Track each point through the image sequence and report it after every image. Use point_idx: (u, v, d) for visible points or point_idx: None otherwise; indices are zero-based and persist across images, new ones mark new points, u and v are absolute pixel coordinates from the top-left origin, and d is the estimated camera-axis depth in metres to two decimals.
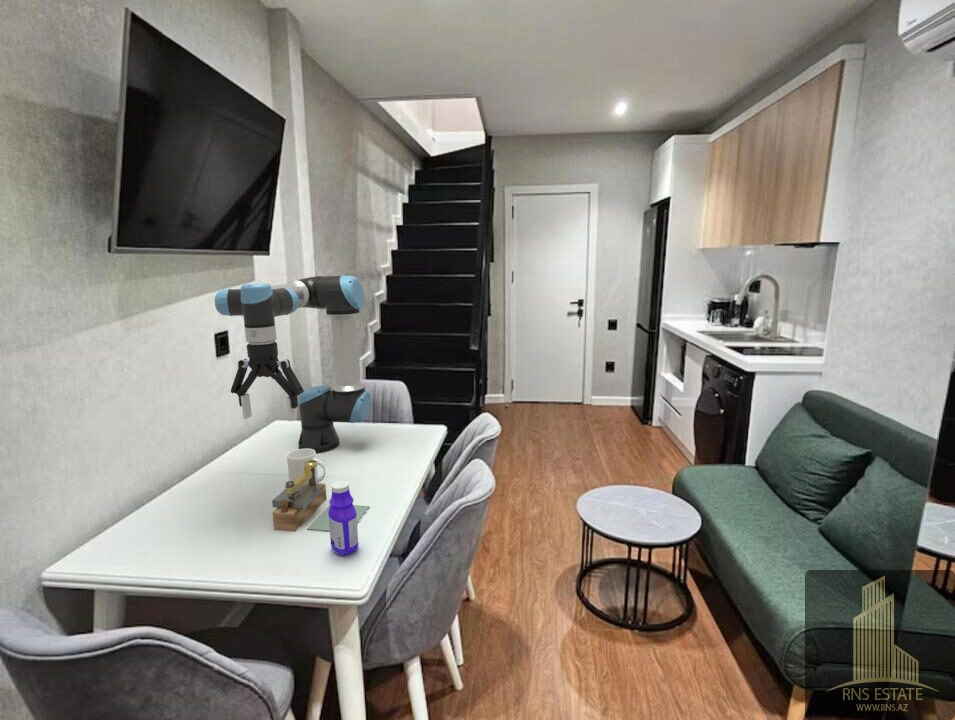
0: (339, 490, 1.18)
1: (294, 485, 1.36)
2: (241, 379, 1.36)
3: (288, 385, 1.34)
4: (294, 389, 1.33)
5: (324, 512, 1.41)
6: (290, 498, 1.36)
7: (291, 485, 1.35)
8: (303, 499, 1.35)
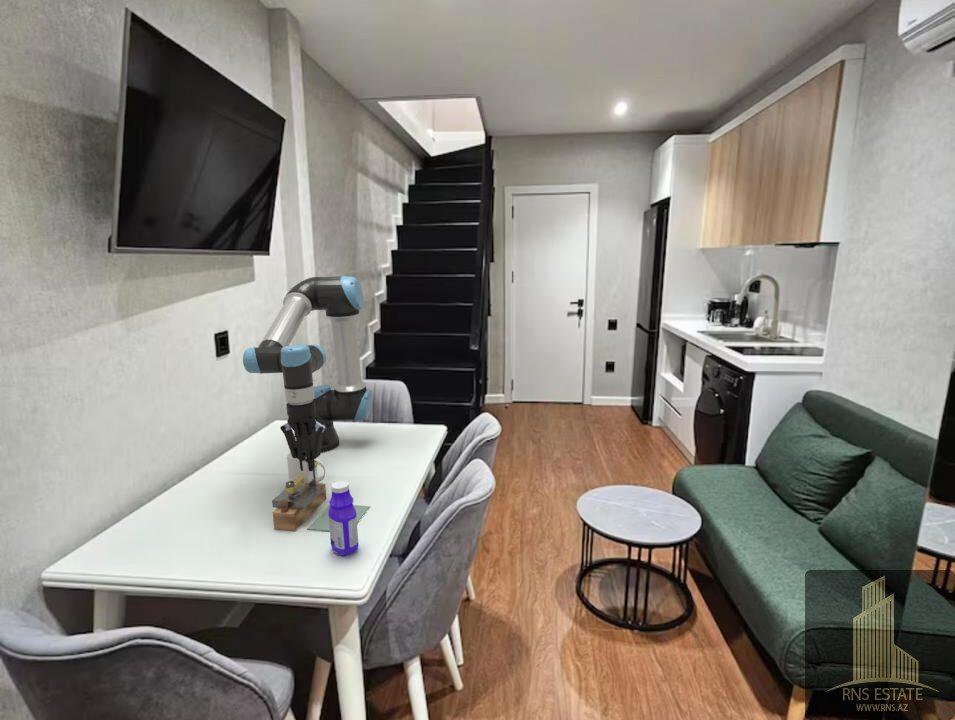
0: (339, 490, 1.18)
1: (294, 485, 1.36)
2: (294, 442, 1.41)
3: (311, 448, 1.40)
4: (314, 453, 1.39)
5: (324, 512, 1.41)
6: (290, 498, 1.36)
7: (291, 485, 1.35)
8: (303, 499, 1.35)
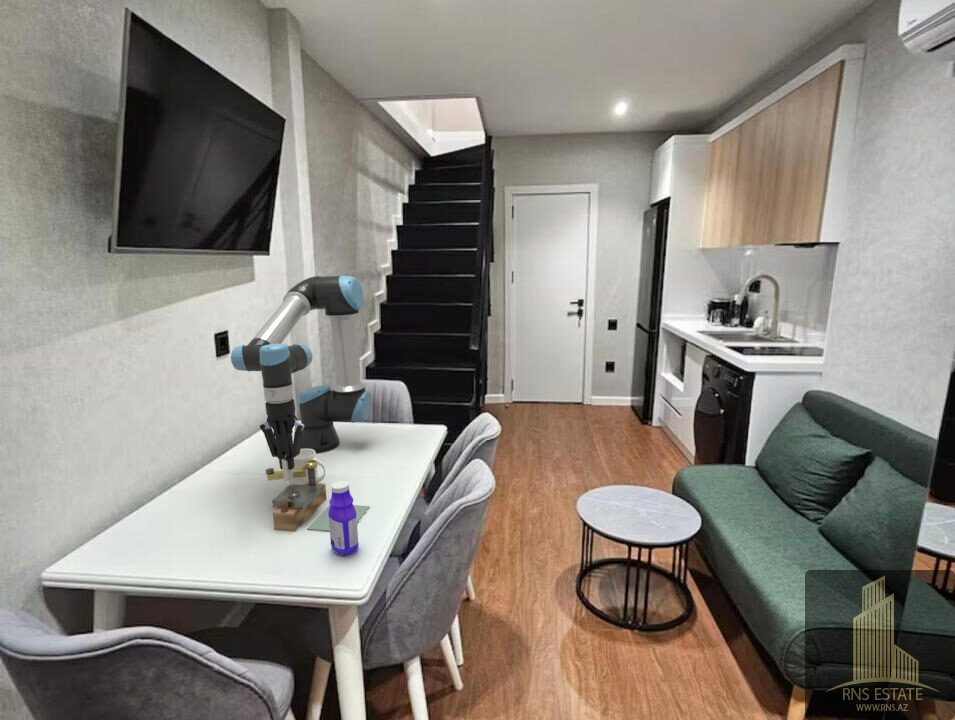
0: (339, 490, 1.18)
1: (270, 474, 1.43)
2: (273, 440, 1.41)
3: (291, 447, 1.41)
4: (293, 451, 1.40)
5: (324, 512, 1.41)
6: (290, 498, 1.36)
7: (266, 472, 1.43)
8: (303, 499, 1.35)
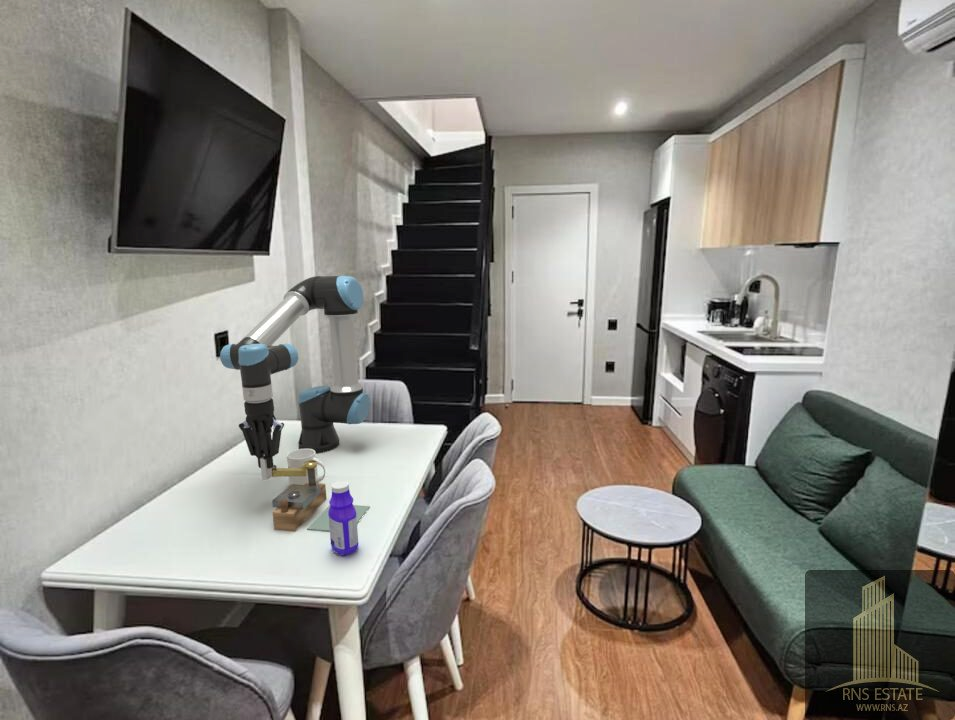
0: (339, 490, 1.18)
1: (272, 471, 1.46)
2: (252, 439, 1.43)
3: (269, 446, 1.42)
4: (272, 450, 1.41)
5: (324, 512, 1.41)
6: (290, 498, 1.36)
7: None
8: (303, 499, 1.35)
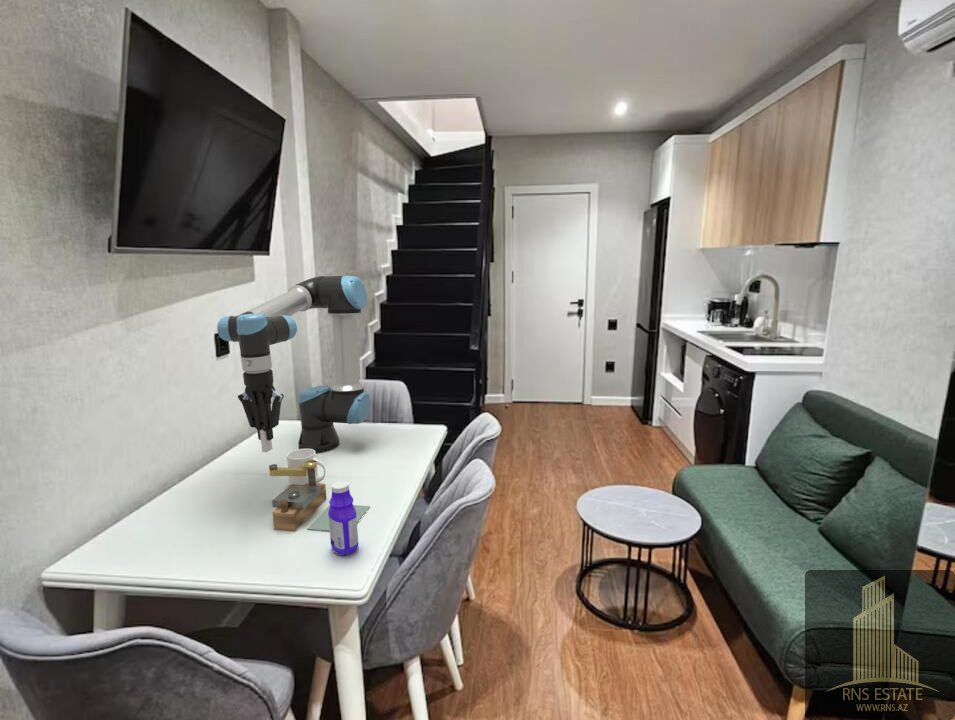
0: (339, 490, 1.18)
1: (272, 470, 1.46)
2: (252, 411, 1.41)
3: (269, 418, 1.40)
4: (271, 422, 1.39)
5: (324, 512, 1.41)
6: (290, 498, 1.36)
7: (269, 468, 1.46)
8: (303, 499, 1.35)
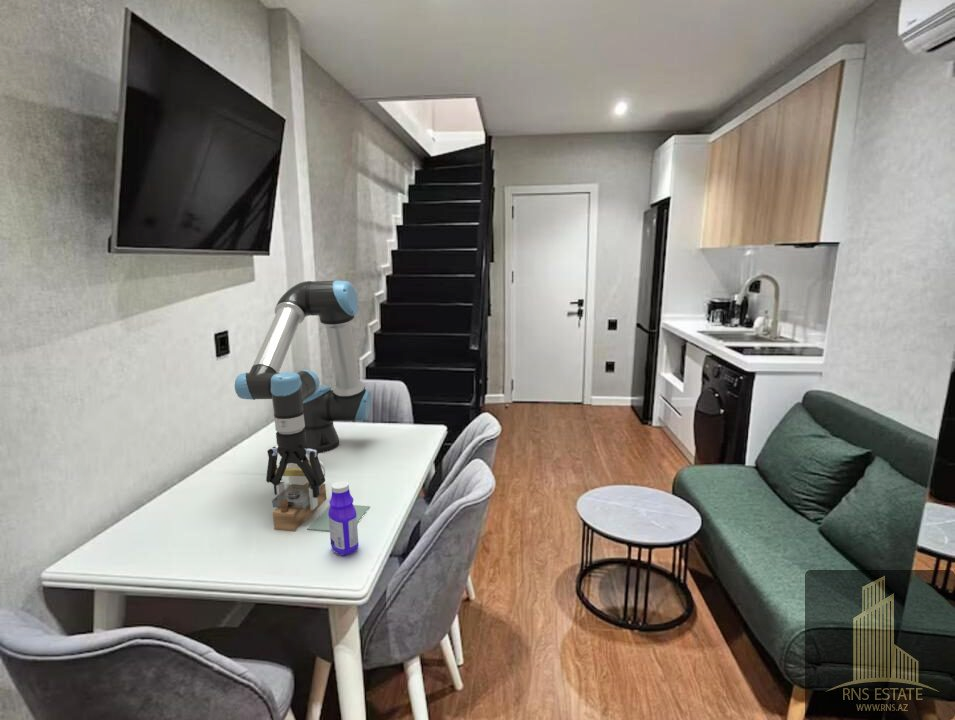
0: (339, 490, 1.18)
1: None
2: (274, 467, 1.39)
3: (312, 474, 1.37)
4: (317, 480, 1.36)
5: (324, 512, 1.41)
6: (290, 498, 1.36)
7: None
8: (303, 499, 1.35)
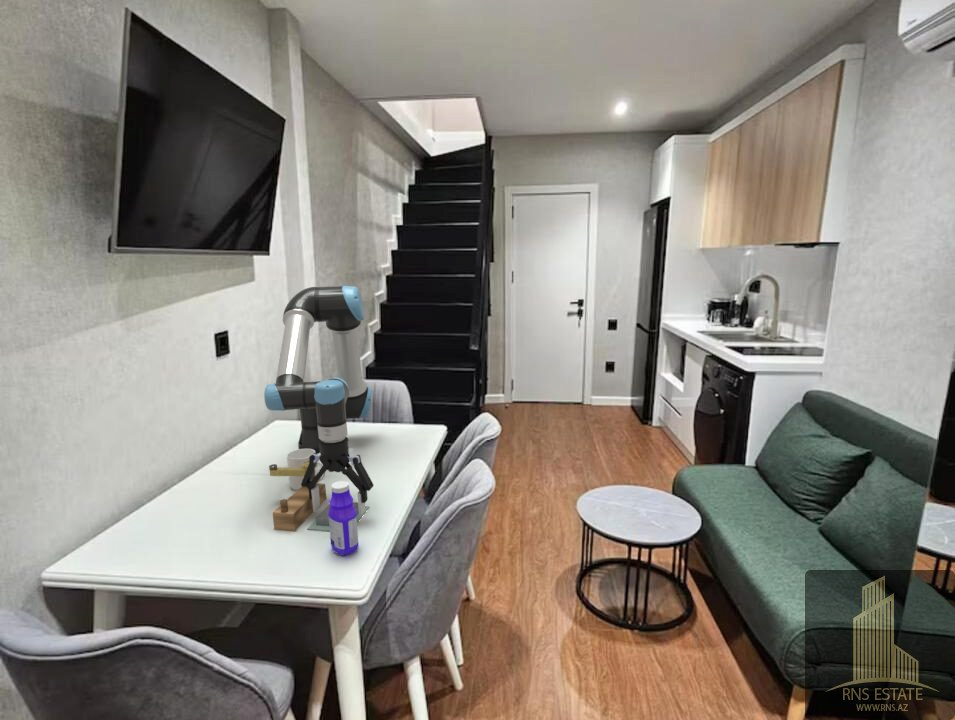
0: (339, 490, 1.18)
1: (272, 470, 1.46)
2: (311, 472, 1.37)
3: (359, 480, 1.35)
4: (365, 485, 1.34)
5: None
6: None
7: (269, 468, 1.46)
8: None
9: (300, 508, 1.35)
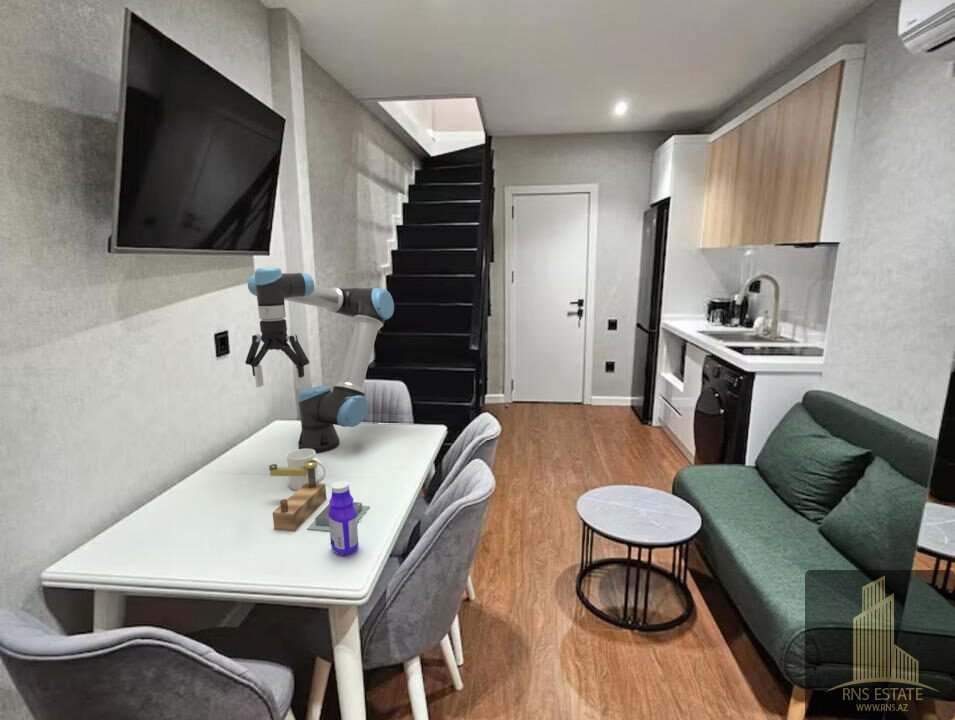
0: (339, 490, 1.18)
1: (272, 470, 1.46)
2: (254, 352, 1.55)
3: (296, 357, 1.53)
4: (301, 360, 1.52)
5: None
6: None
7: (269, 468, 1.46)
8: None
9: (300, 508, 1.35)
